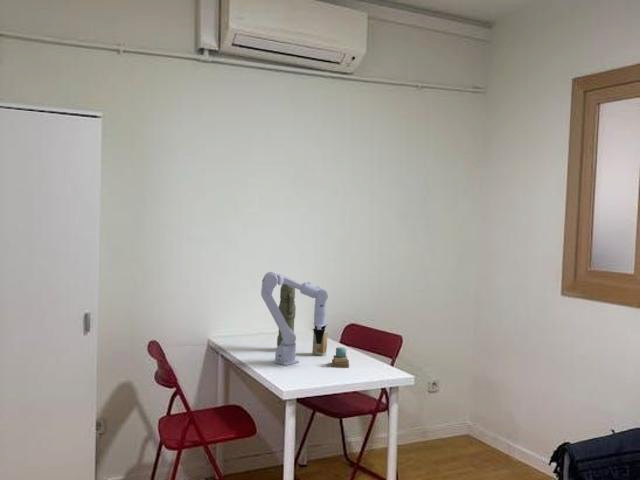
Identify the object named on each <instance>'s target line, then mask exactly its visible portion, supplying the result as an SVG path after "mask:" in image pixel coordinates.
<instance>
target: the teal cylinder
mask: <svg viewBox="0 0 640 480" xmlns="http://www.w3.org/2000/svg"><path fill="white" fill-rule="evenodd" d="M335 355H336V357H337V358H346V356H347V348H345V347H336V348H335Z"/></svg>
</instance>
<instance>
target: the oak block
mask: <svg viewBox="0 0 640 480" xmlns="http://www.w3.org/2000/svg"><path fill="white" fill-rule="evenodd" d="M333 359H334V362H335V363H348V360H349V359H348V357H347V355H346V358H337V357H336V354H335V355H333Z"/></svg>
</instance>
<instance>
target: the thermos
mask: <svg viewBox="0 0 640 480" xmlns="http://www.w3.org/2000/svg"><path fill="white" fill-rule="evenodd" d="M280 286H281V287H280V292H279V293H280V294H279V295H280V296H279V297H280V300H279V305H278V308H279V310H280V311H281V313H282V315H283V317H284V319H285V321H286V323H287V324H288V326H289V328H290V329H292V330H293V331H294V332H295V319H296V309H297V307H296V302H295V298H296V288H294V287H291V286H288V285H286V284H282V285H280ZM282 340H283V339H282V336H281V332H280V330H279V329H278V336H277V339H276V341H277V342H276V347H277V346H279V345H280V344H281V341H282Z"/></svg>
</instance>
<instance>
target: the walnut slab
mask: <svg viewBox="0 0 640 480" xmlns="http://www.w3.org/2000/svg"><path fill="white" fill-rule="evenodd" d="M331 368H344V369H345V368H347V369H349V368H350V361H349V359H348V363H335V362H334V358H332V359H331Z"/></svg>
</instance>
